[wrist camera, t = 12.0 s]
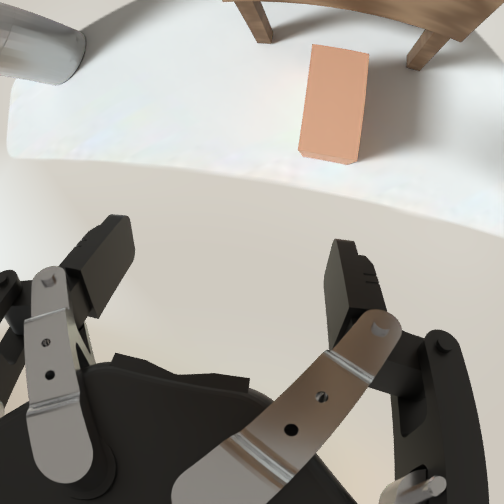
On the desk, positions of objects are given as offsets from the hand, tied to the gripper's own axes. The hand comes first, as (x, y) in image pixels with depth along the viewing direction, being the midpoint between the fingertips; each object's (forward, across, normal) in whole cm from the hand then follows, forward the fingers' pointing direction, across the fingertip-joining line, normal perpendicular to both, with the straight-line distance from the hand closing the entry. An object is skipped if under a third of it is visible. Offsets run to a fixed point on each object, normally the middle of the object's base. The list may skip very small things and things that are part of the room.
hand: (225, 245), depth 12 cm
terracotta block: (+22, -7, -2) cm, 23 cm away
